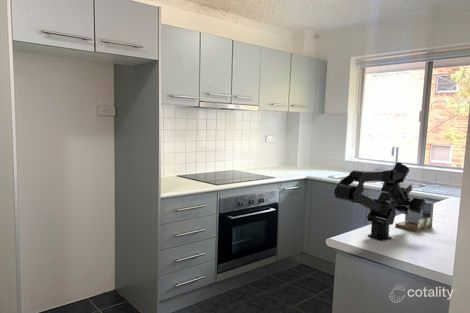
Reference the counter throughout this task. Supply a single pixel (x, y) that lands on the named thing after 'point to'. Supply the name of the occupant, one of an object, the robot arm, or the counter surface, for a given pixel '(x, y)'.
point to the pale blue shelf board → (414, 216)
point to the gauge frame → (415, 225)
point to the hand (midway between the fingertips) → (406, 213)
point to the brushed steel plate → (428, 210)
